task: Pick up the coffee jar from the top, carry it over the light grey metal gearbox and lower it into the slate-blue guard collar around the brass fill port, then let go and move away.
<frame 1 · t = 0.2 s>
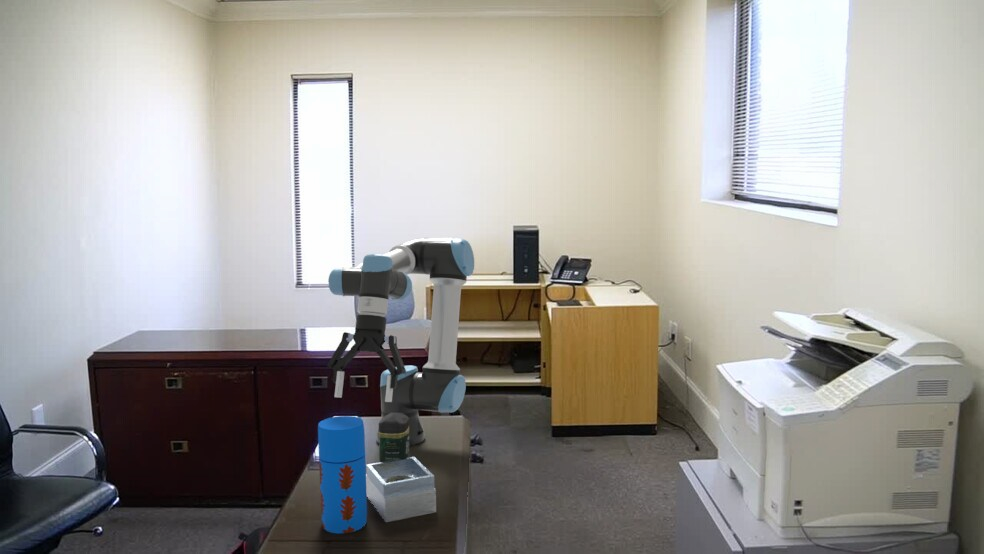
hand: (362, 399, 191), 27 cm above the table, tool tilted 15°, fingers open, 13 cm apart
coffee jar: (395, 481, 209), on the table
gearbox: (400, 504, 194), on the table
thermos: (344, 524, 183), on the table
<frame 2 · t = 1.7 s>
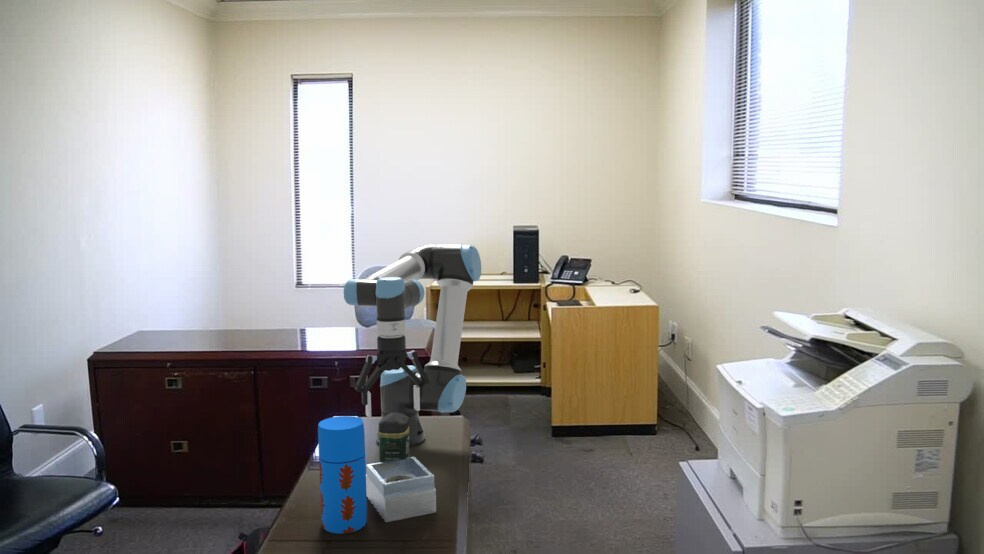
hand: (393, 412, 206), 19 cm above the table, tool pointing down, fingers open, 13 cm apart
nothing on the table moved.
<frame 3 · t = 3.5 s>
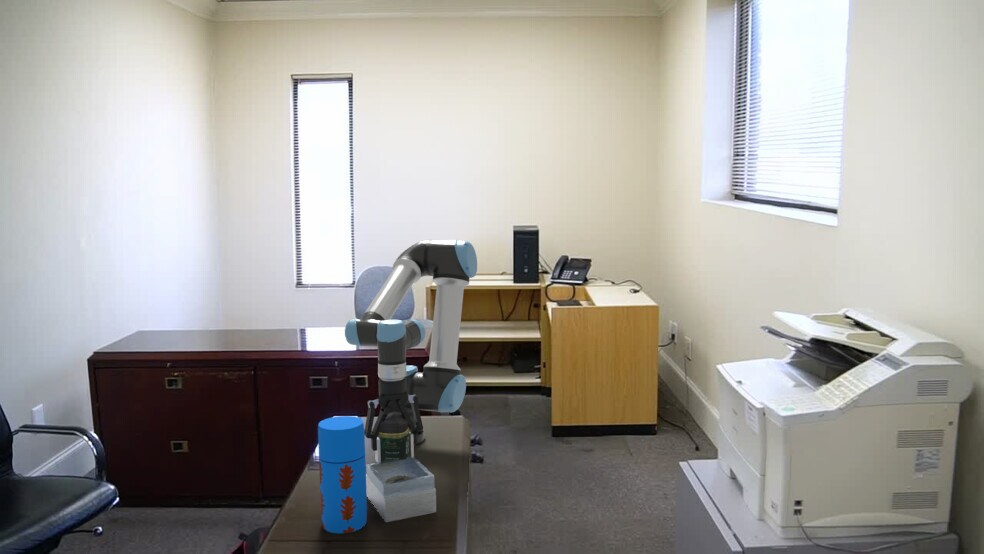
hand: (394, 458, 208), 6 cm above the table, tool pointing down, fingers closed on coffee jar, 9 cm apart
coffee jar: (395, 481, 209), on the table, touching gripper
everything else where it was.
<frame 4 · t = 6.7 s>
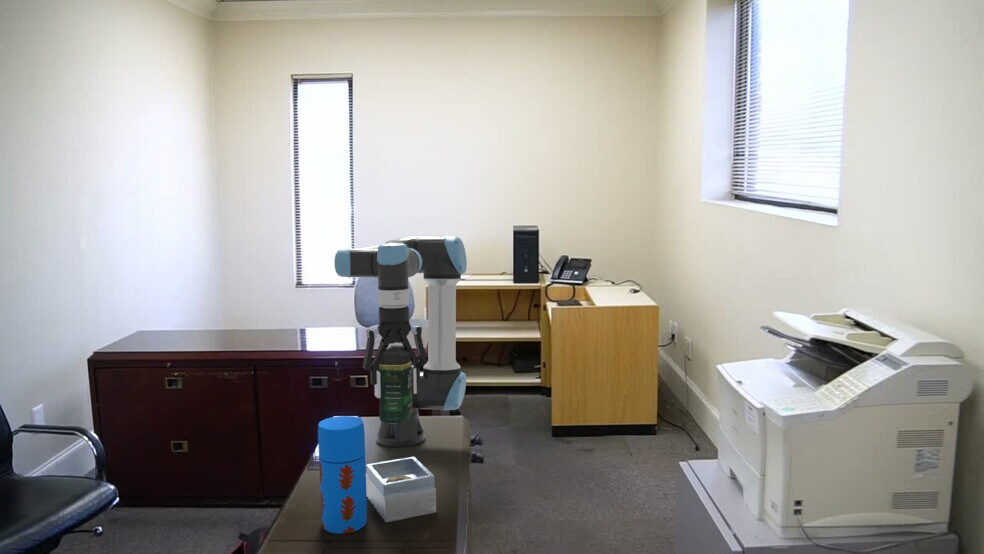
hand: (395, 394, 192), 28 cm above the table, tool pointing down, fingers closed on coffee jar, 9 cm apart
coffee jar: (396, 420, 193), point 21 cm above the table, touching gripper
everything else where it was.
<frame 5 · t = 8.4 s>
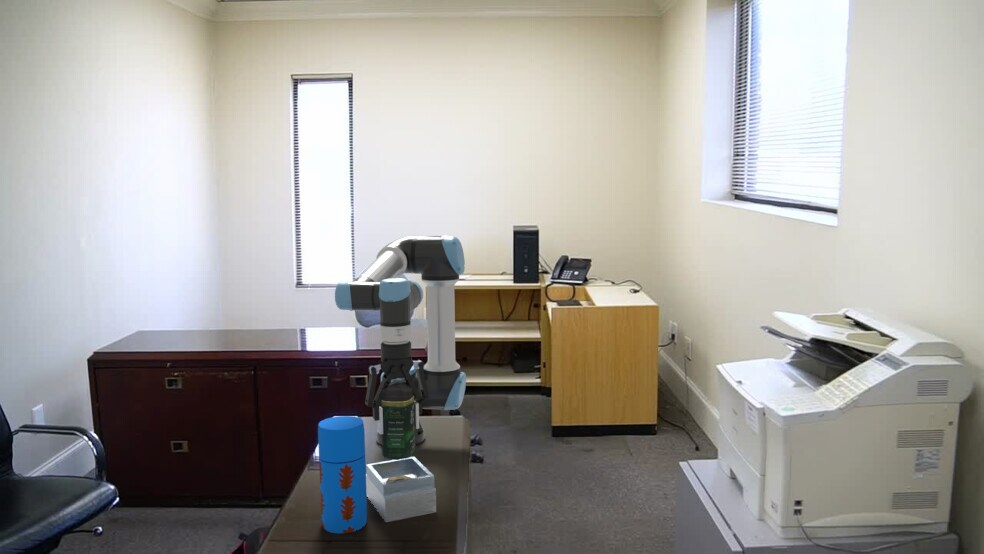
hand: (398, 429, 191), 20 cm above the table, tool pointing down, fingers closed on coffee jar, 9 cm apart
coffee jar: (399, 455, 192), point 13 cm above the table, touching gripper
everything else where it was.
when the fingers open (14 cm above the table, at t = 10.0 s): coffee jar drops 1 cm, resting on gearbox.
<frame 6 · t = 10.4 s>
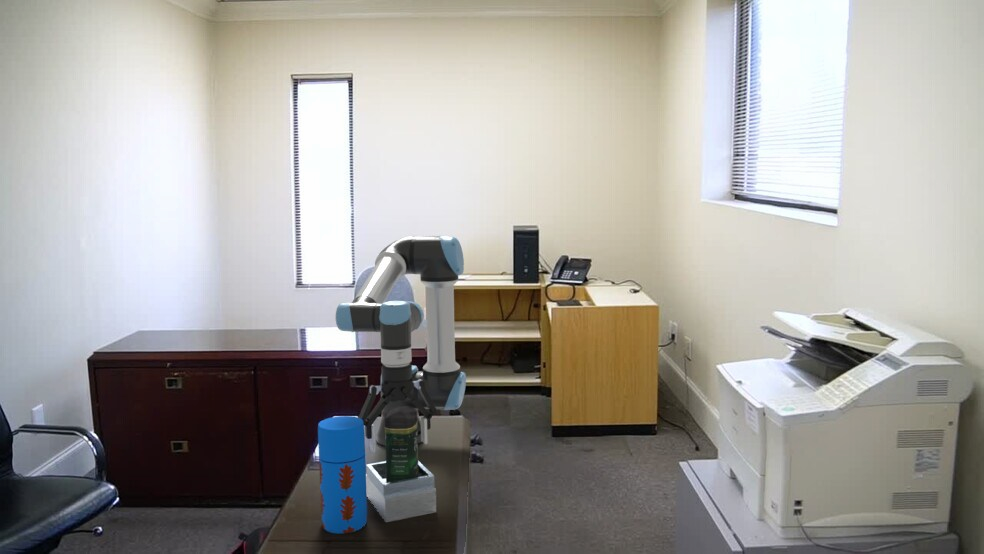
hand: (398, 446, 192), 15 cm above the table, tool pointing down, fingers open, 13 cm apart
coffee jar: (403, 481, 194), point 6 cm above the table, touching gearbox
everything else where it was.
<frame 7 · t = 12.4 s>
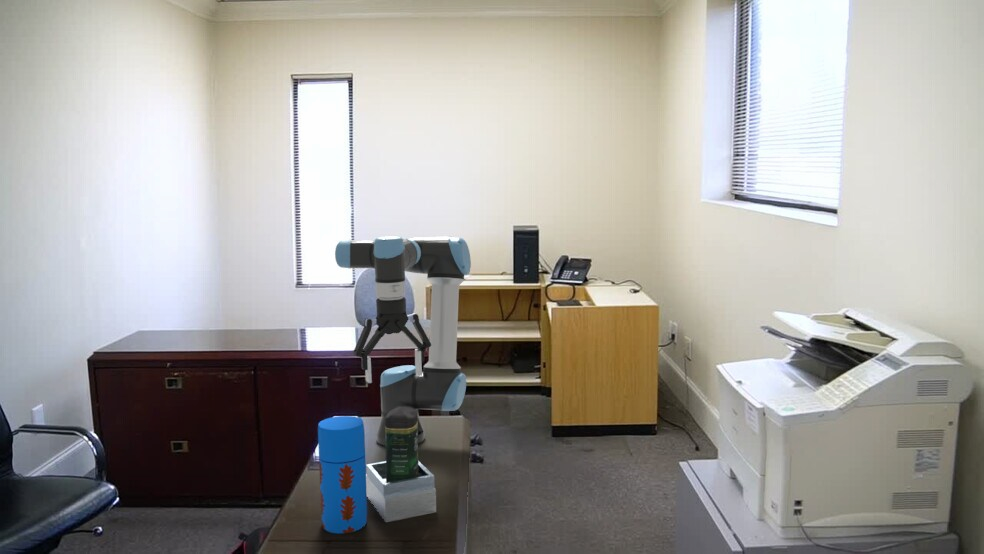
hand: (394, 378, 198), 31 cm above the table, tool pointing down, fingers open, 13 cm apart
nothing on the table moved.
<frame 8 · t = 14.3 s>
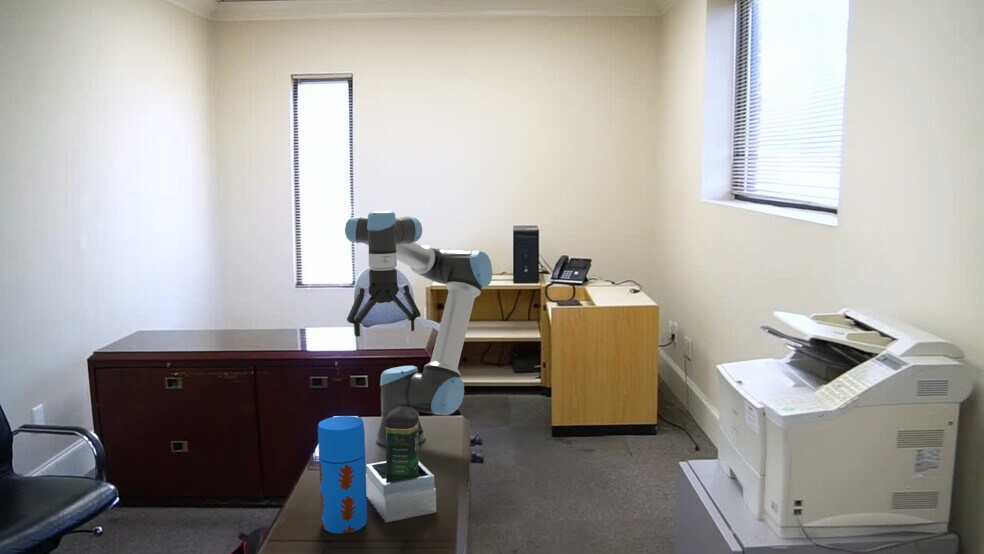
hand: (385, 345, 210), 37 cm above the table, tool pointing down, fingers open, 13 cm apart
nothing on the table moved.
at the end: coffee jar 0.9 cm off-centre on the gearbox, point 5.9 cm above the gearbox's base; coffee jar tilted 0°; the gripper is holding nothing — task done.
